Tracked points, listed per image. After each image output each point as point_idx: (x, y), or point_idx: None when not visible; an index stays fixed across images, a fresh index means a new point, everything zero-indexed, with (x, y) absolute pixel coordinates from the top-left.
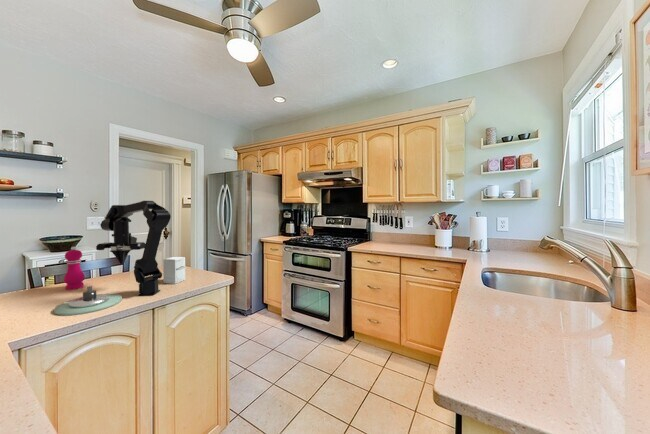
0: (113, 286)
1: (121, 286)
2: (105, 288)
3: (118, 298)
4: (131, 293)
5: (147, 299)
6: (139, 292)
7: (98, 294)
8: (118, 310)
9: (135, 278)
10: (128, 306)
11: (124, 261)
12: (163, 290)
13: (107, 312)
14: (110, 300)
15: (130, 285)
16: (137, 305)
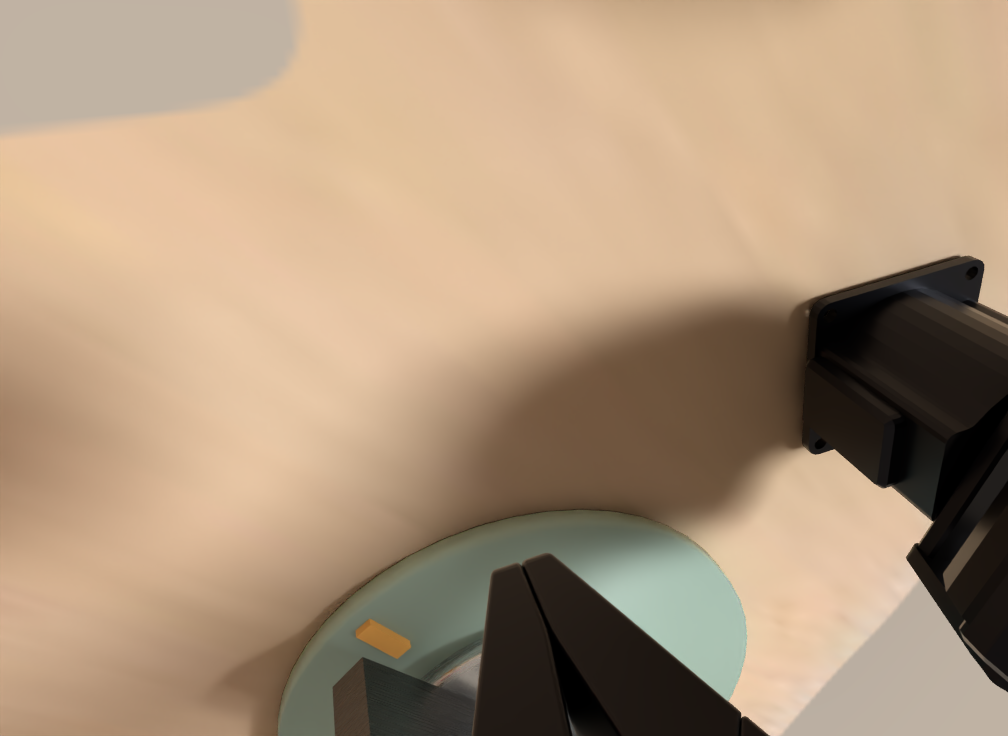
0: (65, 174)
1: (236, 151)
2: (55, 303)
3: (708, 593)
4: (676, 396)
5: None
6: (813, 426)
7: None
8: (821, 675)
9: (936, 599)
10: (850, 618)
11: (604, 608)
12: (996, 227)
13: (770, 712)
14: (672, 640)
15: (356, 65)
16: (905, 589)
